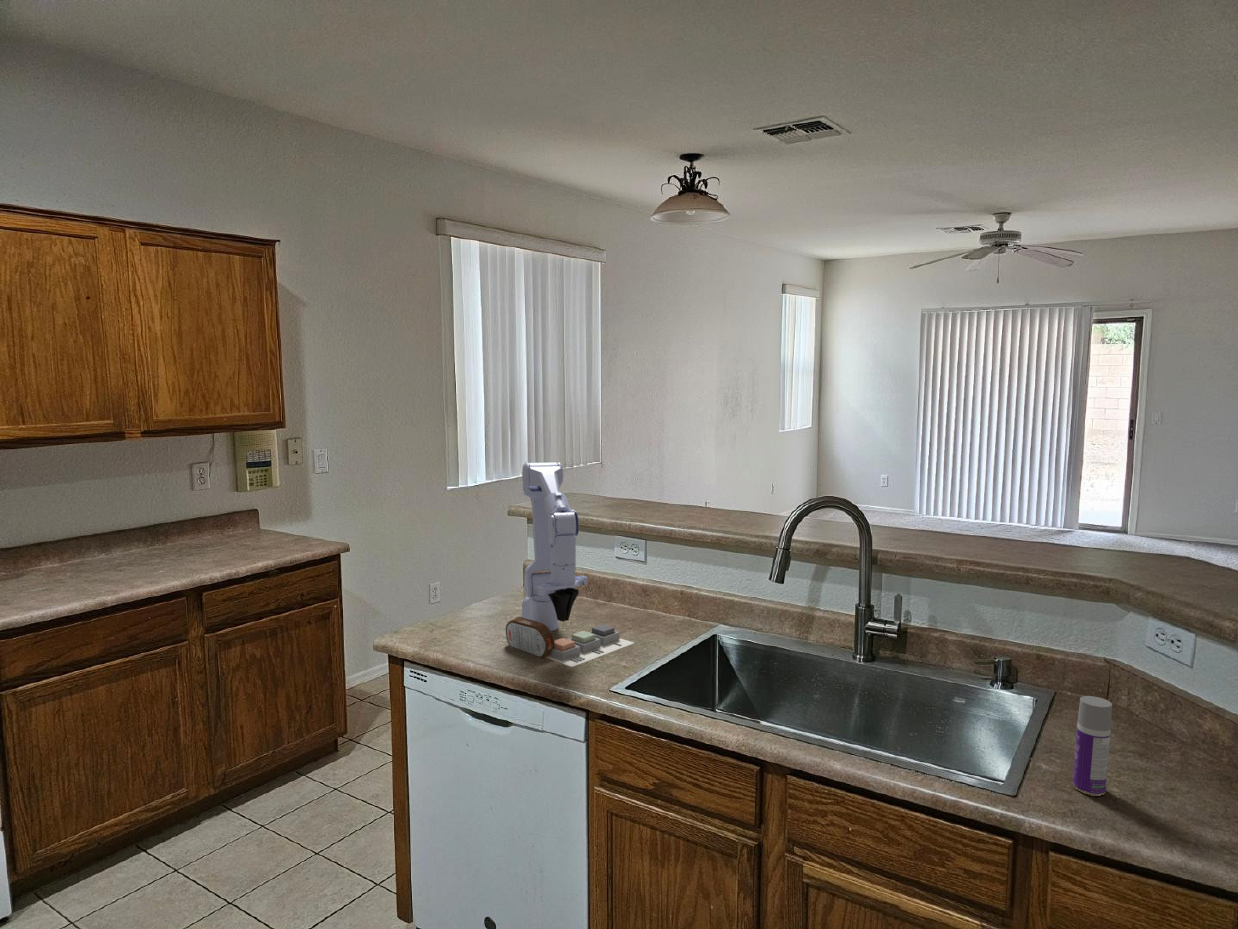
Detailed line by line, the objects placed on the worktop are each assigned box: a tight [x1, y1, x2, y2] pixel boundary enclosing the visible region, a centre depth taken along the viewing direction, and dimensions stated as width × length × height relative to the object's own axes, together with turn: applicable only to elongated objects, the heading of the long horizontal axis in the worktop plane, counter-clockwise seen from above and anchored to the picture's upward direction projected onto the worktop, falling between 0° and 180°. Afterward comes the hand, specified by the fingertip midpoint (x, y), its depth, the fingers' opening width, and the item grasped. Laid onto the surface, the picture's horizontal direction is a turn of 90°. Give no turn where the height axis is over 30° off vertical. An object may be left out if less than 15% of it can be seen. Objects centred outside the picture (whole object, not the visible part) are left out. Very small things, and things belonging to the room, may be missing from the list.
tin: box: [505, 616, 555, 659], centre depth 186 cm, size 15×3×8 cm, turn 48°
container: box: [1072, 695, 1113, 794], centre depth 127 cm, size 5×5×15 cm
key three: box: [554, 637, 575, 651], centre depth 184 cm, size 4×4×2 cm
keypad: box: [544, 630, 635, 668], centre depth 188 cm, size 12×22×3 cm, turn 139°
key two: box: [571, 630, 595, 644], centre depth 189 cm, size 4×4×2 cm
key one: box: [591, 623, 616, 637], centre depth 194 cm, size 4×4×2 cm
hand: (563, 620), depth 183 cm, fingers closed
